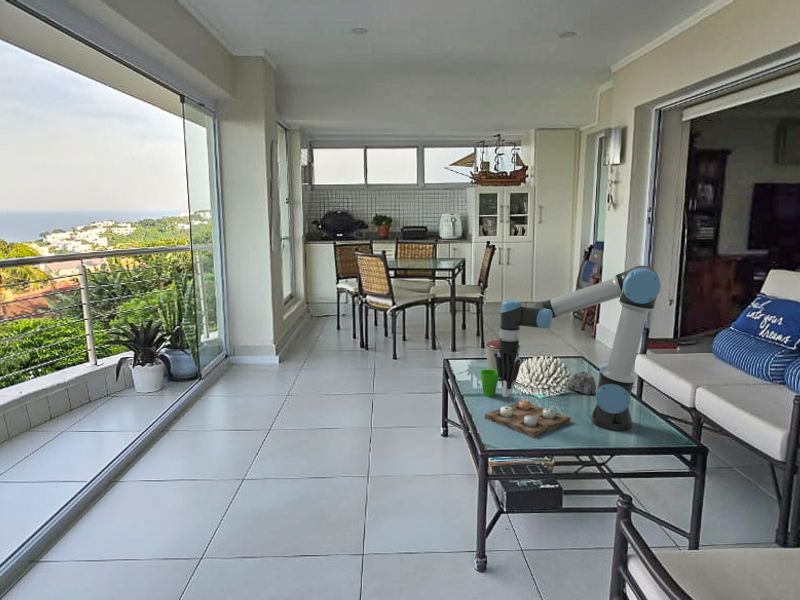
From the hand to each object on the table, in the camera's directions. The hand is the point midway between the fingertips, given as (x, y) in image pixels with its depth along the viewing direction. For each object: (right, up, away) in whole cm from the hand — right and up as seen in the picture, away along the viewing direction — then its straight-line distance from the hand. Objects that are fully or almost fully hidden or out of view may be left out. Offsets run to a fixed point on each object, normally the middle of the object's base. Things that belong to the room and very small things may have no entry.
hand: (506, 395), depth 219 cm
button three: (+10, -7, +9) cm, 15 cm away
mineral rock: (+42, -4, +37) cm, 56 cm away
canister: (+9, -1, +58) cm, 58 cm away
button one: (0, -8, +1) cm, 8 cm away
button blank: (+8, -10, -8) cm, 15 cm away
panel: (+9, -10, +1) cm, 13 cm away
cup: (-2, -5, +31) cm, 31 cm away
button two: (+17, -9, 0) cm, 19 cm away
